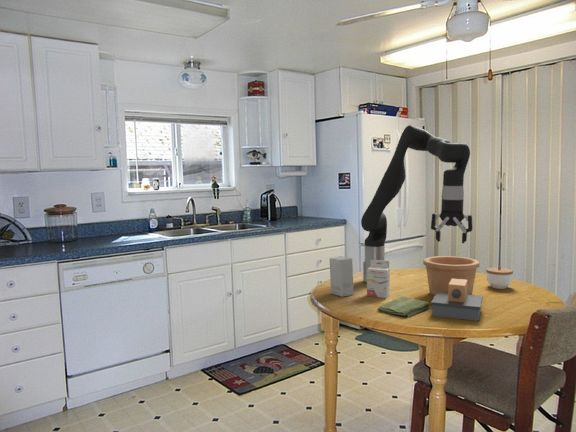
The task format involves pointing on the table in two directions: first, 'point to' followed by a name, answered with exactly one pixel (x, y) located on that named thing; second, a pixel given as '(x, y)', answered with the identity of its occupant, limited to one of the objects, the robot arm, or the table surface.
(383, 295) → the ink cartridge box
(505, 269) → the lidded jar
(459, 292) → the block
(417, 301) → the washcloth
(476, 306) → the stand
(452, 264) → the pottery
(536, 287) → the table surface
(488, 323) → the table surface
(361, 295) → the table surface
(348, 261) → the skincare box
